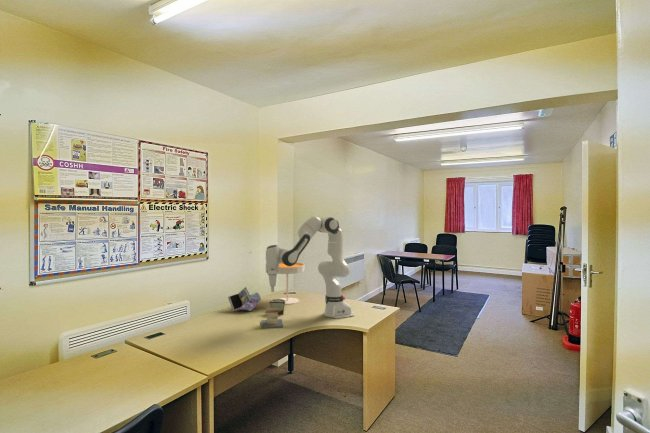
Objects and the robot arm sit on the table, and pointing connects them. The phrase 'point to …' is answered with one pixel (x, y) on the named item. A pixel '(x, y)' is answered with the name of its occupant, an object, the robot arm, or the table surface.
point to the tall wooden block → (272, 315)
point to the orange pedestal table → (287, 270)
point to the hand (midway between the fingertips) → (272, 290)
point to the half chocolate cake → (278, 305)
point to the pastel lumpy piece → (244, 300)
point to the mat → (265, 325)
